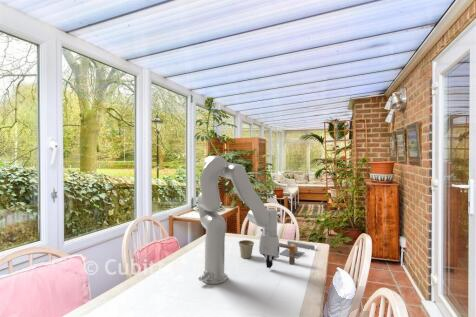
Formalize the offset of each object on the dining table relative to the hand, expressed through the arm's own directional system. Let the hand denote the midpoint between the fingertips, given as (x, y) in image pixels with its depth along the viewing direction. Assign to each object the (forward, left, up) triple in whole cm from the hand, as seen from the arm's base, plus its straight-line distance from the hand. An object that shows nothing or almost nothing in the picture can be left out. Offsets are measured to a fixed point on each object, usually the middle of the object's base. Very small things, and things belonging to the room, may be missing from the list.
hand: (269, 267), depth 149 cm
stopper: (+45, 0, -2) cm, 45 cm away
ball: (+29, -1, +2) cm, 29 cm away
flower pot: (+9, +20, -2) cm, 22 cm away
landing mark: (+30, 0, -2) cm, 30 cm away
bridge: (+15, 0, -2) cm, 15 cm away
